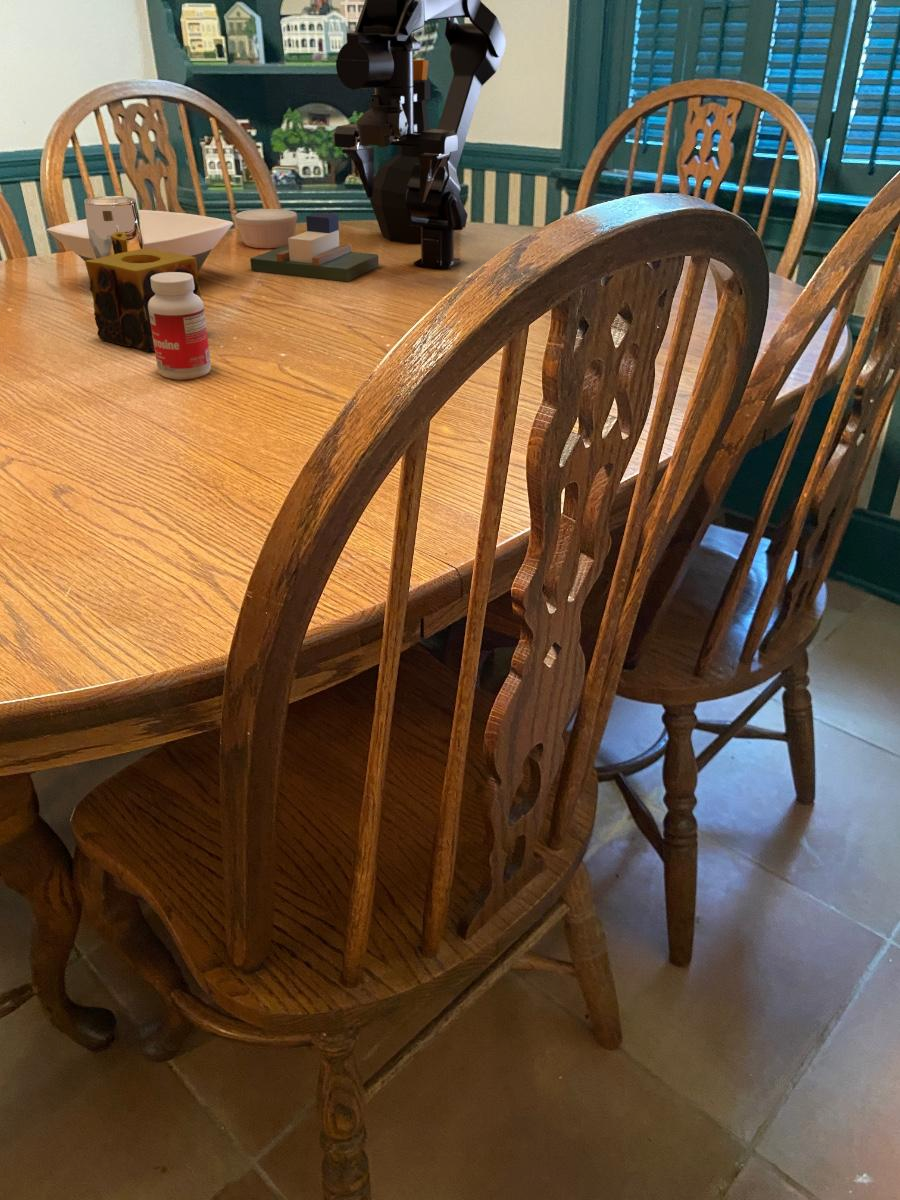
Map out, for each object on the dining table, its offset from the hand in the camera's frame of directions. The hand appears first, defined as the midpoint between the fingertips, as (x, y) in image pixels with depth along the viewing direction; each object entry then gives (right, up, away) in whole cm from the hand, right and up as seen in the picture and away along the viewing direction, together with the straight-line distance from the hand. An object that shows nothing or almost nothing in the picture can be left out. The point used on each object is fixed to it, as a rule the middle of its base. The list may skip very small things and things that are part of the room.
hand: (396, 199), depth 143 cm
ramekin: (-26, +4, +28) cm, 38 cm away
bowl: (-39, -12, +2) cm, 41 cm away
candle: (-31, -29, -23) cm, 48 cm away
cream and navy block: (-14, -5, +10) cm, 18 cm away
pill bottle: (-23, -36, -35) cm, 55 cm away
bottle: (+1, +8, +35) cm, 36 cm away
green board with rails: (-14, -7, +11) cm, 19 cm away
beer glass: (-37, -23, -14) cm, 46 cm away
